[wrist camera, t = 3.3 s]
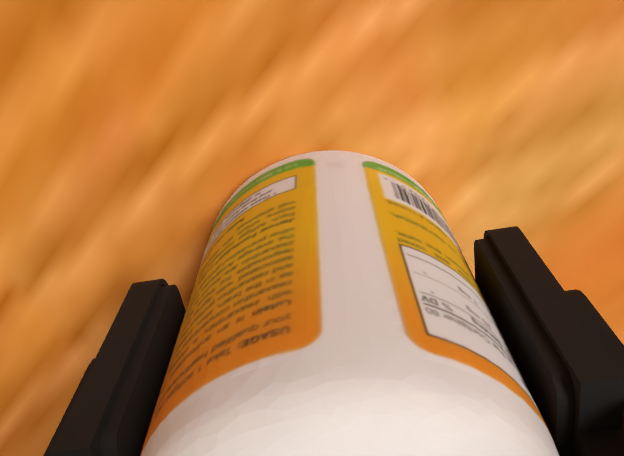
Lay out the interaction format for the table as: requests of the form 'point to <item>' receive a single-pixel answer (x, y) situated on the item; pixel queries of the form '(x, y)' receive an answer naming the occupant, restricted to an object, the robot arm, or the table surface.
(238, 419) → the supplement bottle
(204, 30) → the table surface
